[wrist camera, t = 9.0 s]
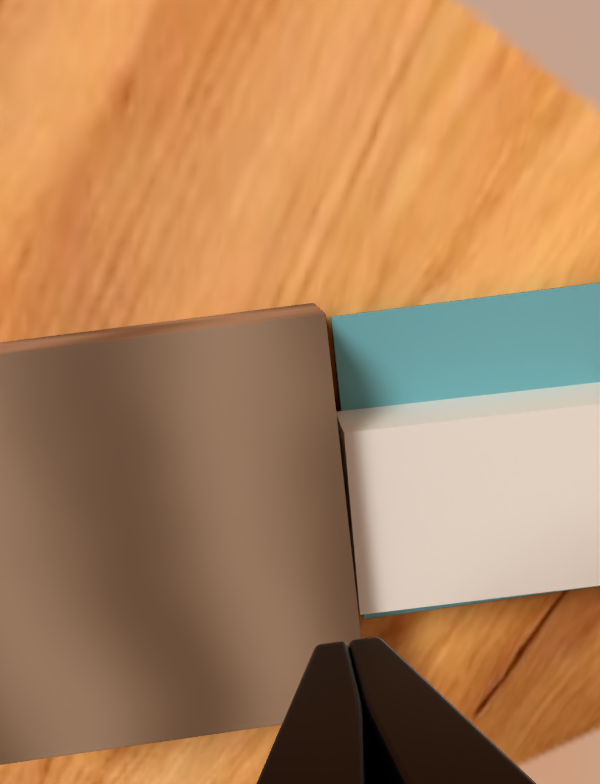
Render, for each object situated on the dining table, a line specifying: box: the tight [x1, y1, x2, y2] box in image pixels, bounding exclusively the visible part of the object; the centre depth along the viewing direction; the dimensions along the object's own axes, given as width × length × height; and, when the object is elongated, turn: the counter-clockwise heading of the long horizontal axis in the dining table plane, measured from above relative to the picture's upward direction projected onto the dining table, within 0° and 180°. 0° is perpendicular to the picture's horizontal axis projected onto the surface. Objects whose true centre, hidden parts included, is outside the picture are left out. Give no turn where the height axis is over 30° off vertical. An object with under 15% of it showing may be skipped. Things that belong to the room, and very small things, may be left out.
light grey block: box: [336, 382, 600, 615], centre depth 18 cm, size 9×6×2 cm, turn 96°
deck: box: [0, 303, 361, 765], centre depth 17 cm, size 12×12×4 cm
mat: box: [331, 282, 600, 619], centre depth 19 cm, size 10×11×1 cm
